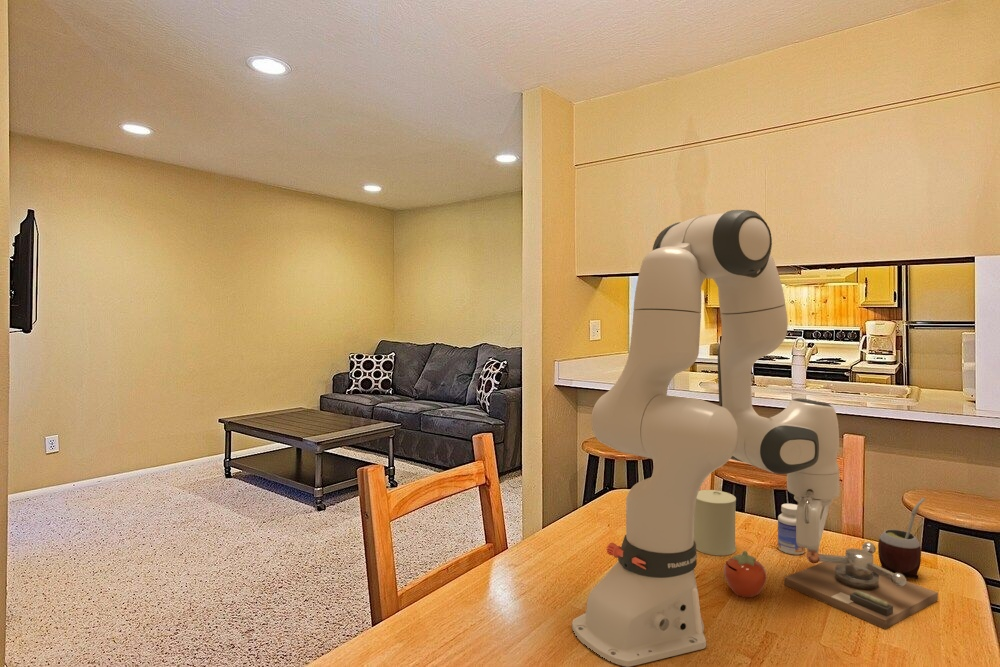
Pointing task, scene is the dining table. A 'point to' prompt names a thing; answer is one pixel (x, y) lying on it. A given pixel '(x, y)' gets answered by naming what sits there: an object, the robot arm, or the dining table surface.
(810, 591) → the stand board
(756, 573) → the tomato
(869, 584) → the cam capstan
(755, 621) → the dining table surface
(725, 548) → the can
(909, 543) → the mate gourd
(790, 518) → the pill bottle
